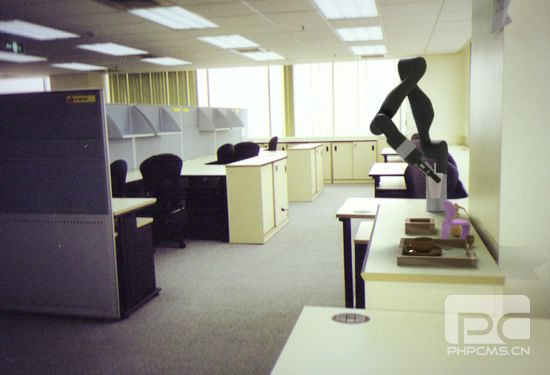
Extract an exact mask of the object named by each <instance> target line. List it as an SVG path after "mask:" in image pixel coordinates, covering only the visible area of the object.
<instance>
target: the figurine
mask: <svg viewBox="0 0 550 375" xmlns="http://www.w3.org/2000/svg"><path fill="white" fill-rule="evenodd" d="M453 204H454V205H455V206H456V215H455V216H453V219H461V213H460V212H459V210H460V209H461V210H463V211H464V212H465V214H466V216H467V217H469V214H468V212H467V209H466V208H464V207H462V206H461V205H458V203H457V202H456V203H453ZM444 217H446V214H445V213H444ZM450 233H451V235H453V236H454V237H459V236H461V234H462V226H461V225H457V226H453V227H452V228H451V230H450Z"/></svg>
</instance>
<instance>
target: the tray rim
mask: <svg viewBox="0 0 550 375" xmlns="http://www.w3.org/2000/svg"><path fill="white" fill-rule="evenodd" d="M413 238H414V237H400V240H399V246H398V249H397V256H396V265H399V266H400V265H402V266H404V265H405V266H430V267H458V268H459V267H461V268H476V267H477V259H476V256H475V255H476V254H475V255H474V253H475V252H474V249H473V247H469V245H468V244H467V243H466V239H460V238H449V239H441V238H440V237H439V238H437V237H436V238H435V237H433V239H434V245H436V246H440V247H442V248H445V247H446V248H447V247H448V248H449V247H450V248H465V250H466V253H467V252H468V255H467V257H464V256H463V257H462V256H460V257H459V256H457V257H456V256H434V257H430V256H410V255H404V252H405V250H404V249H405V246H404V245H408V246H409V245H412V239H413Z"/></svg>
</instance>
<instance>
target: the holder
mask: <svg viewBox="0 0 550 375" xmlns="http://www.w3.org/2000/svg"><path fill="white" fill-rule="evenodd" d="M404 234H409V235H410V234H416V235H418V234H420V235H422V234H423V235H424V234H425V235H436V221H435V217H406V218H405V222H404Z"/></svg>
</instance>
